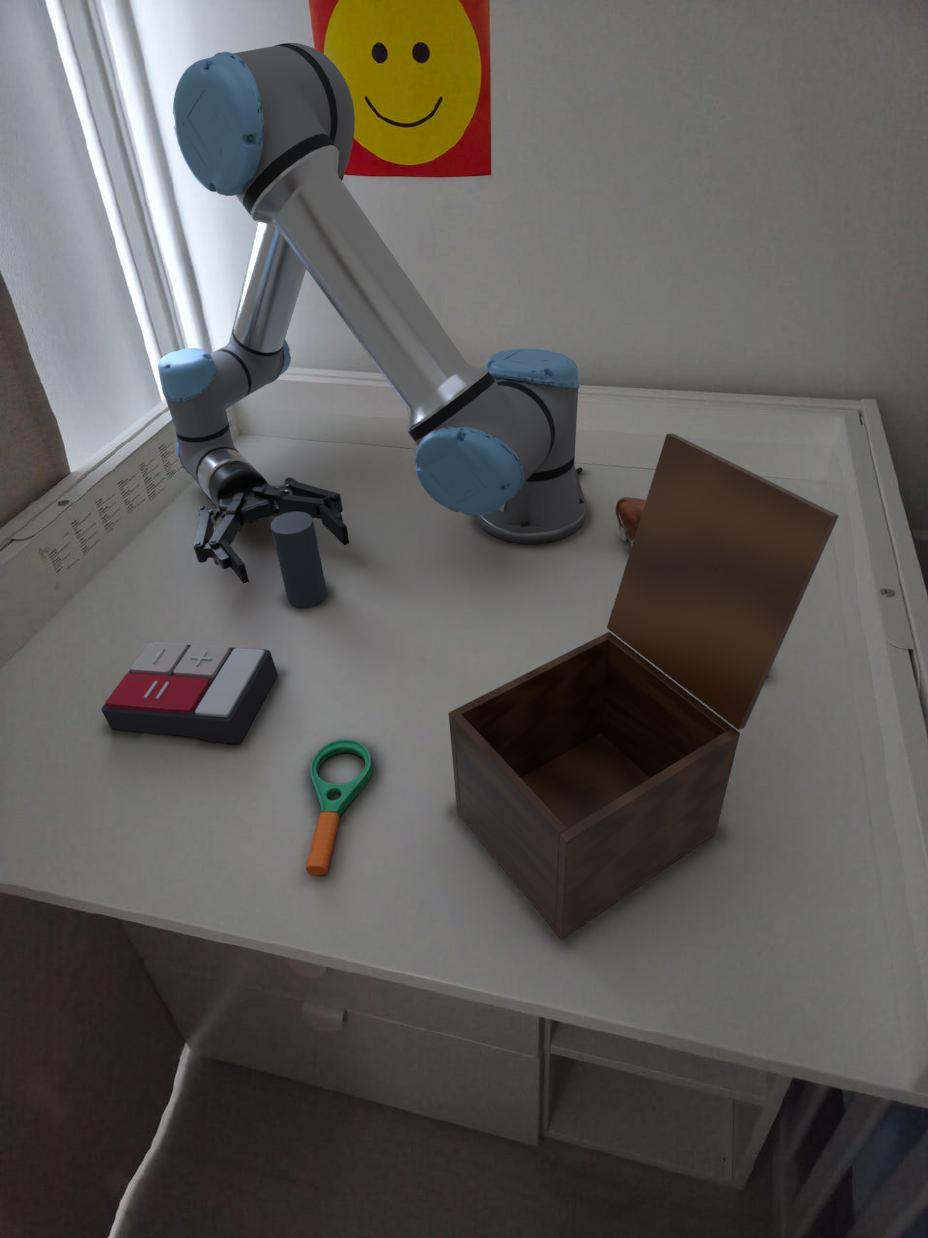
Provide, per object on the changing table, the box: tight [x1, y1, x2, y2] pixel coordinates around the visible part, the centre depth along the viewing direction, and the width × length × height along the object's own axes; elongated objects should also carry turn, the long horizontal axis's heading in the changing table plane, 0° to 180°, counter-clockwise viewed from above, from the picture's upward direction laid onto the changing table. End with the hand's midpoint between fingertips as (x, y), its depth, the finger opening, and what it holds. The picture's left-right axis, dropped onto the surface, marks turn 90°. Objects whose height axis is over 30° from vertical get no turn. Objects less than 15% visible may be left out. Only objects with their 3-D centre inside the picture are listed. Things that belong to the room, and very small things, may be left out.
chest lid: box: [606, 432, 840, 731], centre depth 64 cm, size 18×16×1 cm
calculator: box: [101, 641, 278, 745], centre depth 88 cm, size 11×4×15 cm
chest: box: [448, 631, 741, 940], centre depth 70 cm, size 18×16×13 cm
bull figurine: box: [615, 496, 646, 548], centre depth 104 cm, size 4×13×8 cm, turn 58°
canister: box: [270, 512, 328, 609], centre depth 100 cm, size 5×5×11 cm
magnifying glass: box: [305, 738, 374, 876], centre depth 76 cm, size 15×6×2 cm, turn 176°
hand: (296, 554), depth 100 cm, fingers open, 13 cm apart
